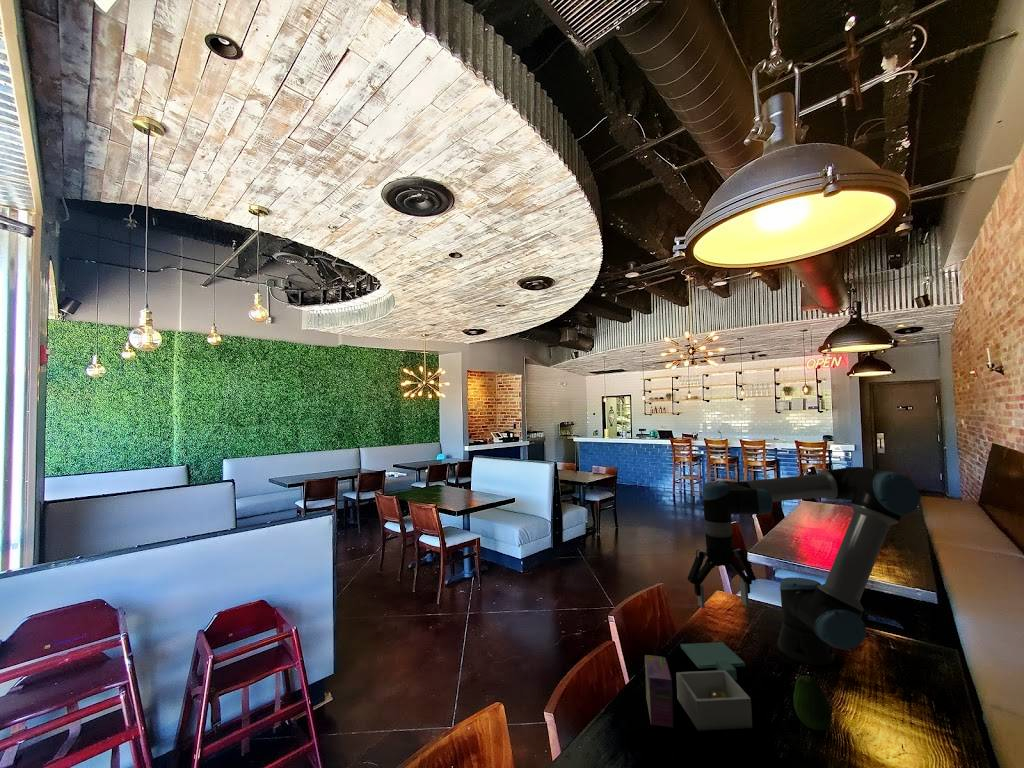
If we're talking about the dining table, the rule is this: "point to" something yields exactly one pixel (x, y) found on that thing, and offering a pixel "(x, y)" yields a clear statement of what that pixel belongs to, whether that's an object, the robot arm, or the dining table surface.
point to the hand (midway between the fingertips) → (723, 605)
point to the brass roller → (718, 694)
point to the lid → (713, 657)
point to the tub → (713, 700)
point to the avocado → (811, 704)
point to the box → (659, 691)
